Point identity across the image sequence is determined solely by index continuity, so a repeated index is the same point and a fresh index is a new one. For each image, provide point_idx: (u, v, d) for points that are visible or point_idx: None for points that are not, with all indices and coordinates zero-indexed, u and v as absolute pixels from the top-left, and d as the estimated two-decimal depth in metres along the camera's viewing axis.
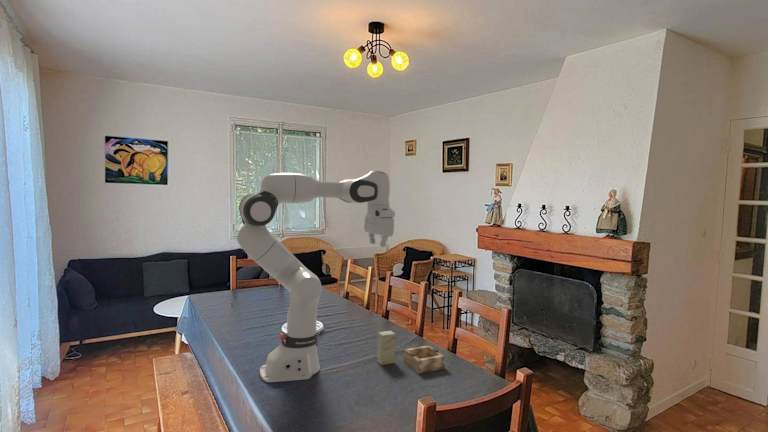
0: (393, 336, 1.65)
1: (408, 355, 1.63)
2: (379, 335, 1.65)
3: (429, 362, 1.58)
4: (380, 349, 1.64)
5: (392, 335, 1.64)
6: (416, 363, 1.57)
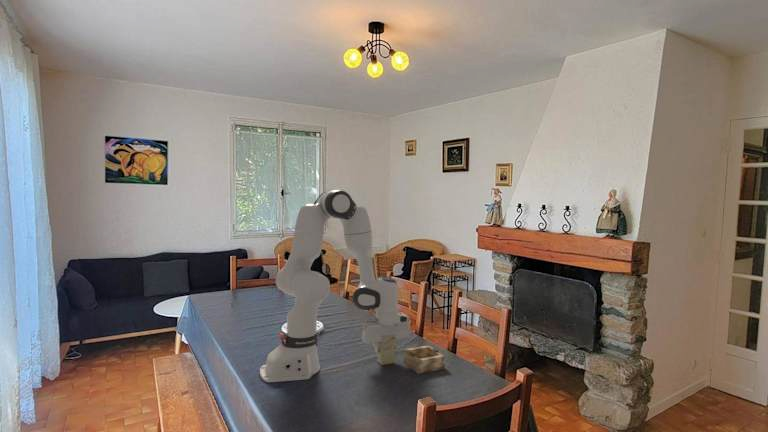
0: (393, 336, 1.65)
1: (408, 355, 1.63)
2: None
3: (429, 362, 1.58)
4: (380, 349, 1.64)
5: (392, 335, 1.64)
6: (416, 363, 1.57)
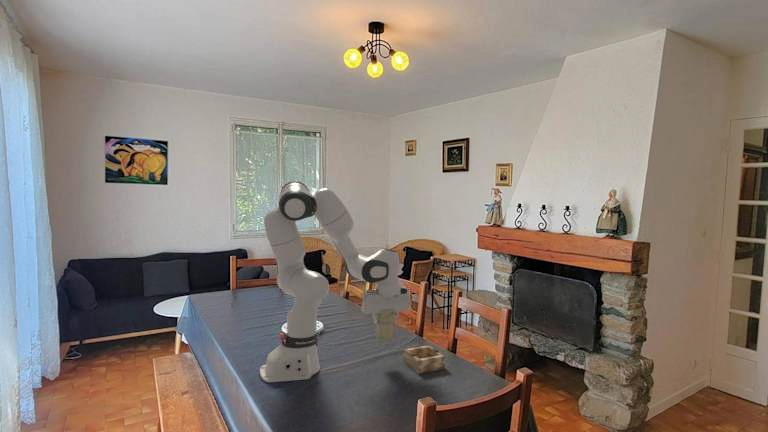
0: (392, 311, 1.64)
1: (408, 355, 1.63)
2: None
3: (429, 362, 1.58)
4: (379, 324, 1.63)
5: (392, 310, 1.64)
6: (416, 363, 1.57)
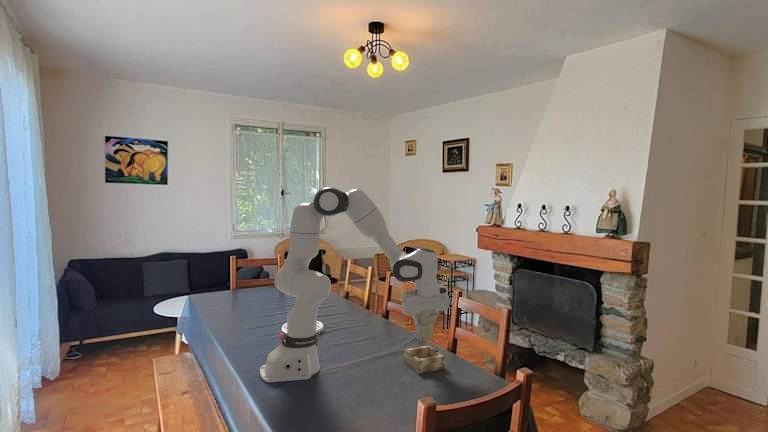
0: (432, 312, 1.62)
1: (408, 355, 1.63)
2: None
3: (429, 362, 1.58)
4: (419, 325, 1.61)
5: (431, 311, 1.62)
6: (416, 363, 1.57)
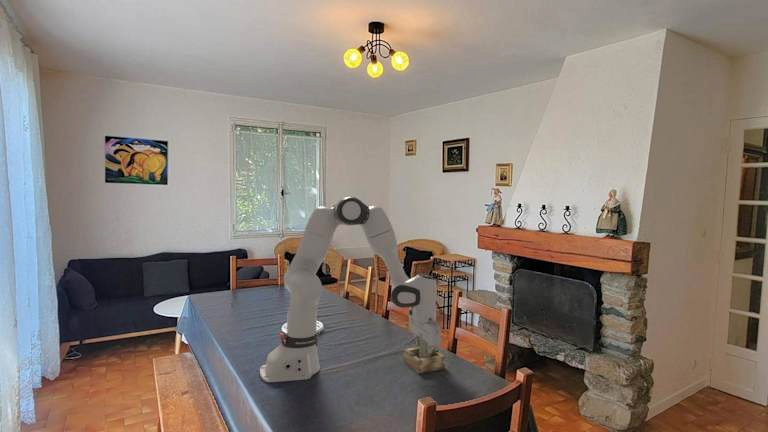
0: None
1: (408, 355, 1.63)
2: None
3: (429, 362, 1.58)
4: None
5: None
6: (416, 363, 1.57)
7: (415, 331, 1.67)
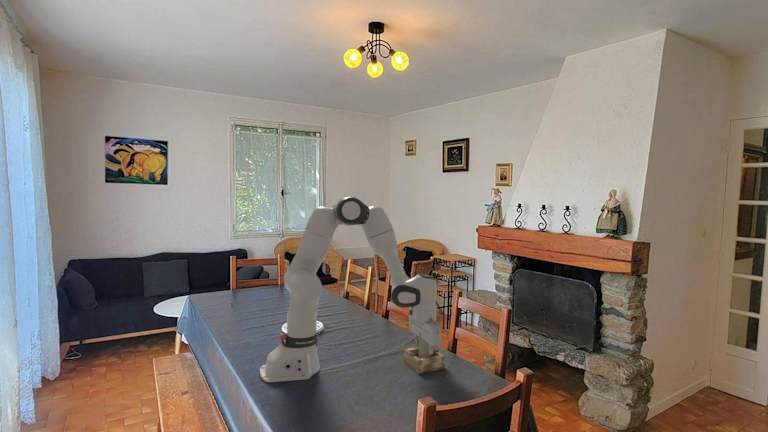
0: None
1: (408, 355, 1.63)
2: None
3: (429, 362, 1.58)
4: (425, 350, 1.62)
5: None
6: (416, 363, 1.57)
7: (415, 331, 1.66)
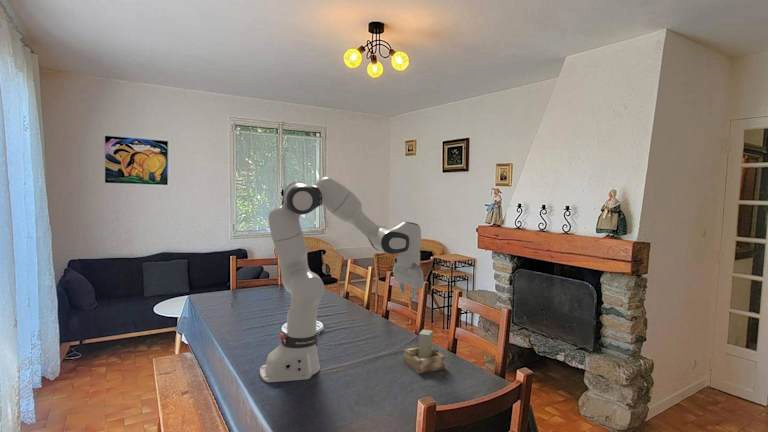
0: (432, 333, 1.66)
1: (408, 355, 1.63)
2: (422, 336, 1.62)
3: (429, 362, 1.58)
4: (425, 350, 1.62)
5: (431, 333, 1.65)
6: (416, 363, 1.57)
7: (399, 278, 1.70)
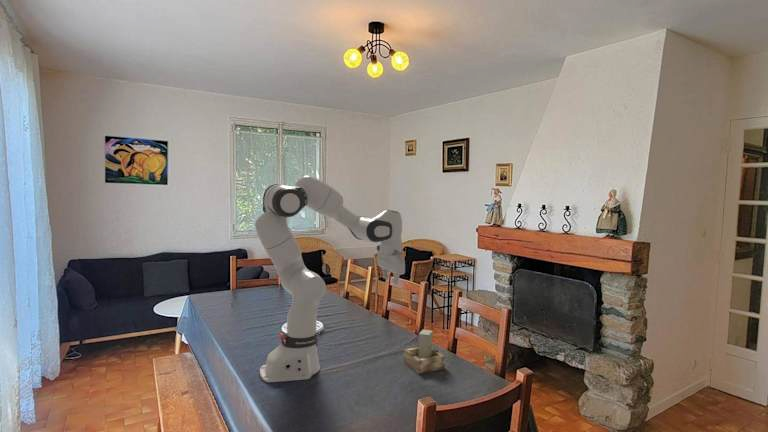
0: (432, 333, 1.66)
1: (408, 355, 1.63)
2: (422, 336, 1.62)
3: (429, 362, 1.58)
4: (425, 350, 1.62)
5: (431, 333, 1.65)
6: (416, 363, 1.57)
7: (382, 265, 1.76)
